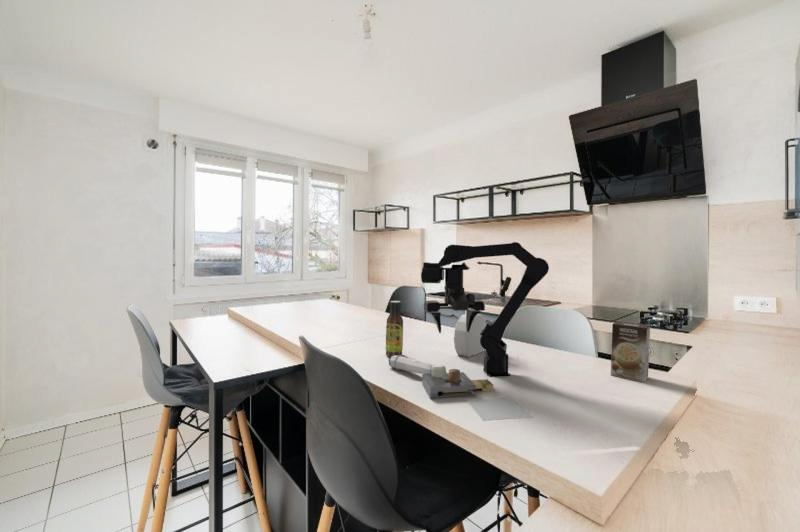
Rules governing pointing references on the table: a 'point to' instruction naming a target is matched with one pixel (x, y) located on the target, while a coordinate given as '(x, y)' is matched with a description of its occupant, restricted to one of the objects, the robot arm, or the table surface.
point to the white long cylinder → (418, 367)
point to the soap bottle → (469, 336)
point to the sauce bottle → (394, 330)
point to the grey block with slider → (453, 386)
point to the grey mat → (498, 408)
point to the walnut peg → (454, 375)
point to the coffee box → (630, 350)
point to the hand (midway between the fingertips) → (453, 332)
